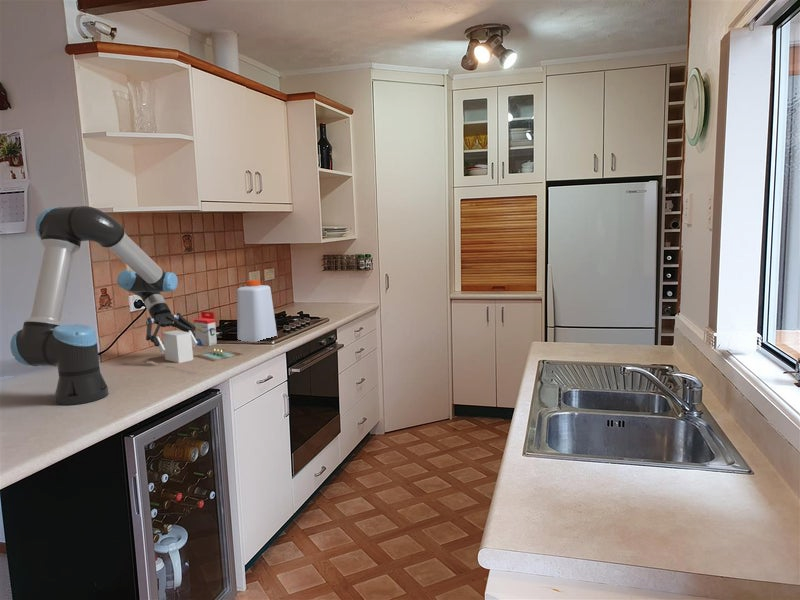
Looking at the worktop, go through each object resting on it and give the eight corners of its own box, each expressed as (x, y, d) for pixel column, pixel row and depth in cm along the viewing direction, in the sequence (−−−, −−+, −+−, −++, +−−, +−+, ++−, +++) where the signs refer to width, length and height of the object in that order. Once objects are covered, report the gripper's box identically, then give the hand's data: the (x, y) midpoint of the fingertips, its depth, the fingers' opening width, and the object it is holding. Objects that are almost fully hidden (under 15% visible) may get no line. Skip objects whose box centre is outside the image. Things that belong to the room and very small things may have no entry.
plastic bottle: (262, 345, 260) (257, 282, 256) (233, 344, 265) (228, 282, 261) (281, 338, 273) (276, 278, 270) (253, 337, 279) (249, 278, 275)
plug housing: (179, 365, 228) (176, 335, 226) (165, 362, 235) (162, 332, 233) (193, 362, 232) (190, 332, 231) (179, 359, 239) (176, 330, 238)
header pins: (221, 356, 236) (220, 350, 236) (212, 354, 240) (212, 348, 240) (223, 355, 237) (222, 349, 236) (215, 353, 241) (214, 347, 240)
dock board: (213, 364, 228) (213, 361, 228) (192, 359, 239) (191, 356, 239) (244, 357, 239) (244, 354, 238) (222, 352, 249) (222, 349, 249)
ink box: (195, 345, 266) (192, 313, 264) (203, 342, 271) (201, 311, 269) (209, 346, 262) (206, 313, 260) (217, 344, 267) (214, 311, 265)
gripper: (183, 309, 252) (205, 347, 244) (124, 318, 233) (146, 360, 225) (188, 297, 247) (211, 336, 240) (129, 306, 229) (151, 348, 221)
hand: (180, 348), depth 233 cm, fingers open, 13 cm apart
